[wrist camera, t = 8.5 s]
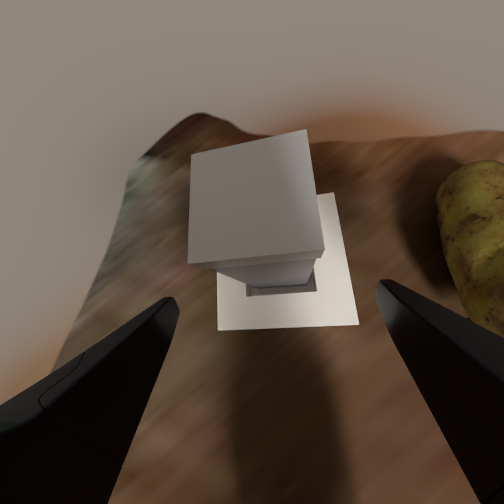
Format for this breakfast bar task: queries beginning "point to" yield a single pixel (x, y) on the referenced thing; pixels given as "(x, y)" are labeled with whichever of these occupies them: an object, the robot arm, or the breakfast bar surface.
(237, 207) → the grey tall block
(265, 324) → the socket
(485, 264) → the potato
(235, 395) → the breakfast bar surface
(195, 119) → the breakfast bar surface
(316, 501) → the breakfast bar surface
